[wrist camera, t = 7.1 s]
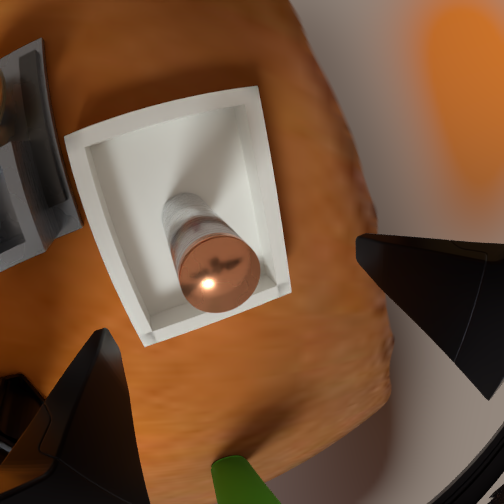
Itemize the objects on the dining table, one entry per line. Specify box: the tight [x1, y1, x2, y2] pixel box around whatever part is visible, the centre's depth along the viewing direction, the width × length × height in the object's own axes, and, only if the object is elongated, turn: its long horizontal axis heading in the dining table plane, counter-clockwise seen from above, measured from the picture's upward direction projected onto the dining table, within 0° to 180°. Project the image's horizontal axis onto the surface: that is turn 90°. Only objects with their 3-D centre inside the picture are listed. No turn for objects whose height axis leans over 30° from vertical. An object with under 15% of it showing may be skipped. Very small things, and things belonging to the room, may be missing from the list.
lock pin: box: [161, 192, 260, 313], centre depth 14 cm, size 3×3×9 cm
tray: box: [64, 86, 291, 347], centre depth 17 cm, size 14×11×2 cm
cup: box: [211, 456, 281, 504], centre depth 27 cm, size 9×9×11 cm
